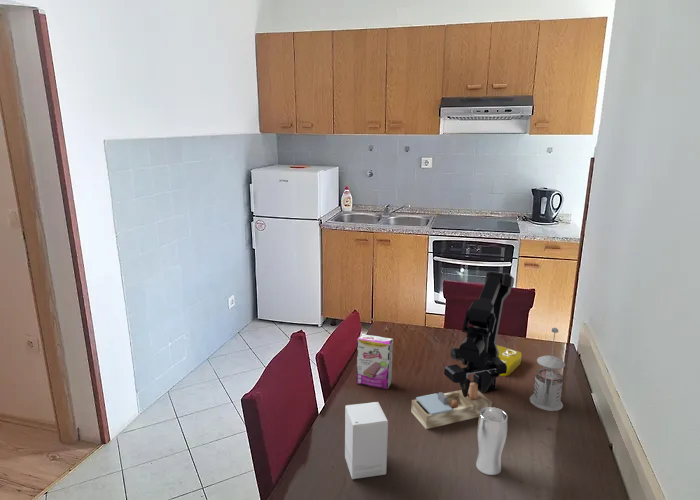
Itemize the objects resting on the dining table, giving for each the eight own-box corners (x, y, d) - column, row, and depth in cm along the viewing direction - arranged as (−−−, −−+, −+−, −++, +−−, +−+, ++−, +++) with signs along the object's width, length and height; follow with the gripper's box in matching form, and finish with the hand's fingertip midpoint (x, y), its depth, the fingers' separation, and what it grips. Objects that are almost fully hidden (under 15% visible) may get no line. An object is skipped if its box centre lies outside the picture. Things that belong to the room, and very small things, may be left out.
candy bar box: (355, 384, 157) (356, 338, 153) (360, 377, 162) (361, 332, 158) (388, 390, 154) (389, 344, 150) (392, 383, 158) (393, 337, 154)
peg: (474, 402, 145) (474, 381, 144) (478, 406, 143) (479, 385, 142) (467, 403, 145) (468, 383, 143) (472, 407, 142) (472, 387, 141)
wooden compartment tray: (473, 398, 149) (473, 387, 148) (490, 414, 141) (491, 402, 140) (411, 411, 142) (411, 400, 141) (426, 429, 134) (426, 416, 133)
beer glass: (470, 458, 122) (474, 406, 118) (496, 457, 122) (501, 405, 119) (479, 477, 115) (484, 423, 111) (507, 476, 116) (513, 422, 112)
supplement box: (387, 475, 115) (389, 421, 112) (351, 480, 114) (352, 425, 110) (377, 451, 124) (379, 400, 120) (344, 455, 122) (344, 404, 119)
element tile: (483, 351, 183) (484, 339, 182) (522, 363, 174) (523, 351, 173) (466, 364, 172) (467, 352, 171) (506, 378, 163) (507, 365, 162)
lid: (436, 394, 144) (436, 387, 143) (452, 410, 136) (452, 402, 135) (416, 399, 141) (416, 391, 141) (431, 415, 133) (431, 407, 133)
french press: (563, 398, 150) (573, 325, 144) (562, 417, 140) (573, 339, 134) (530, 390, 154) (538, 319, 148) (527, 409, 144) (536, 333, 138)
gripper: (487, 332, 150) (483, 377, 154) (436, 341, 144) (433, 387, 147) (510, 347, 140) (505, 394, 144) (456, 357, 133) (452, 406, 137)
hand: (473, 394), depth 143 cm, fingers open, 6 cm apart
